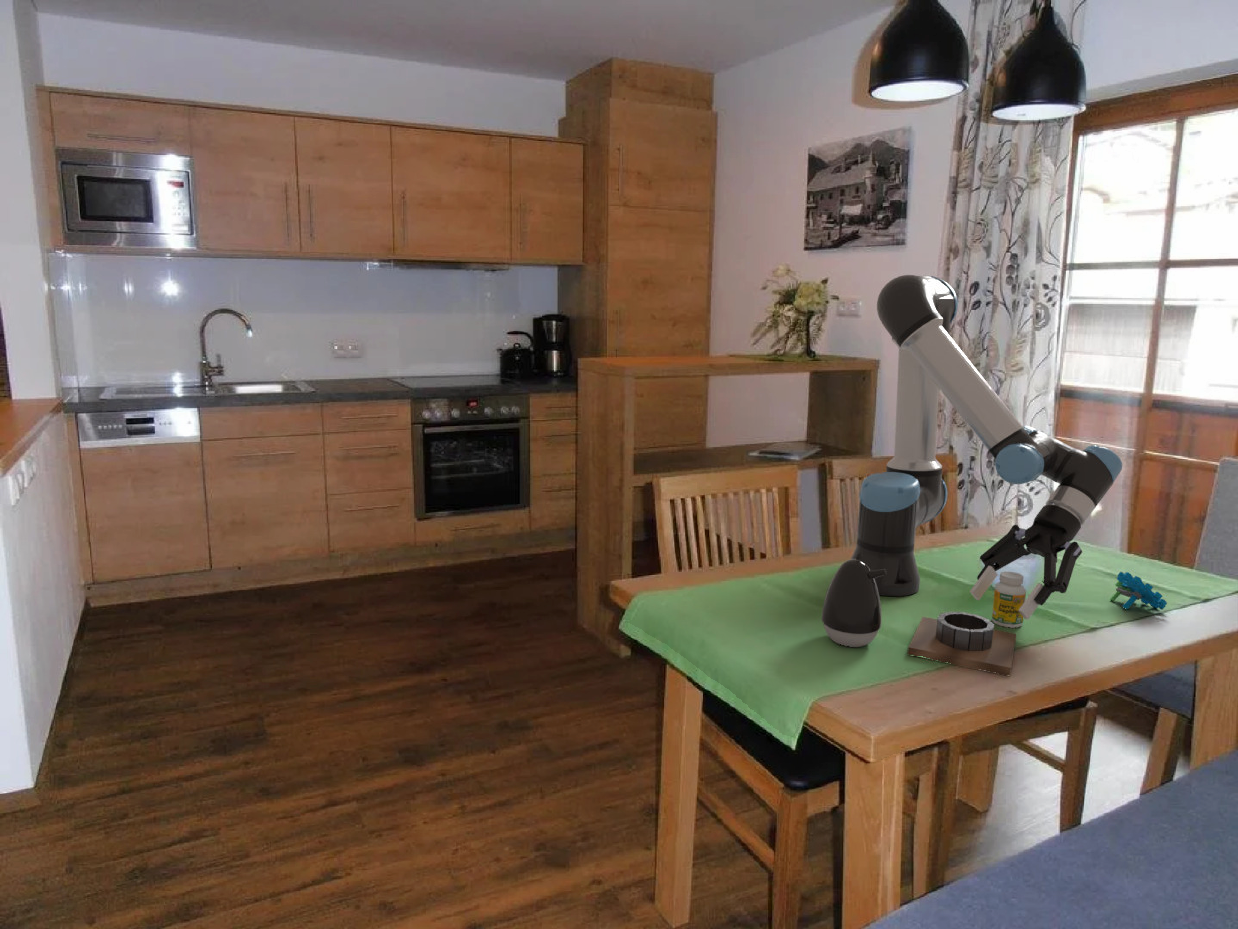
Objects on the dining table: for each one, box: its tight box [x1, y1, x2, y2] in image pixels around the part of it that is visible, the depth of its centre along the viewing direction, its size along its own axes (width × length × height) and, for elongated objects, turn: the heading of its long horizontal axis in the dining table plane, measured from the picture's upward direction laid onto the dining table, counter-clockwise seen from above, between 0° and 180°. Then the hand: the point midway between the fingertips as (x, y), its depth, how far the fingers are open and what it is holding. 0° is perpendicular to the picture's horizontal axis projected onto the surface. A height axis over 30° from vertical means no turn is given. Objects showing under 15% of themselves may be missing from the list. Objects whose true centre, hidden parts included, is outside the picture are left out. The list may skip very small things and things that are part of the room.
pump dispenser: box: [821, 558, 886, 648], centre depth 148 cm, size 10×10×15 cm
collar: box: [936, 611, 995, 651], centre depth 146 cm, size 9×9×4 cm
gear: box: [1109, 571, 1168, 611], centre depth 168 cm, size 11×6×10 cm
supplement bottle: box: [991, 571, 1027, 629], centre depth 158 cm, size 5×5×10 cm
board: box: [907, 616, 1017, 676], centre depth 147 cm, size 16×16×2 cm
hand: (998, 605), depth 157 cm, fingers open, 10 cm apart
